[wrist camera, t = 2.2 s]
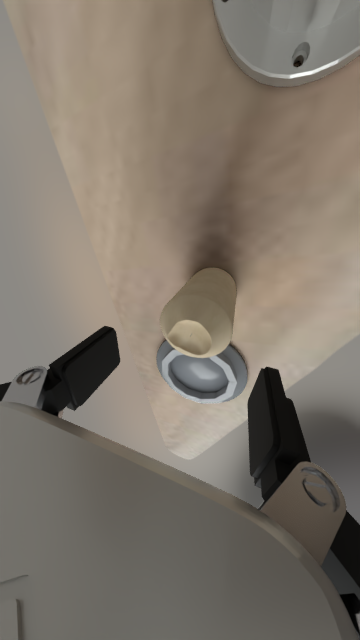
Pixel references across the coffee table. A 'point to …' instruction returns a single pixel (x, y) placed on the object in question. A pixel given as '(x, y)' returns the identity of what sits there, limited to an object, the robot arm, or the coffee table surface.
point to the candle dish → (203, 374)
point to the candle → (201, 314)
